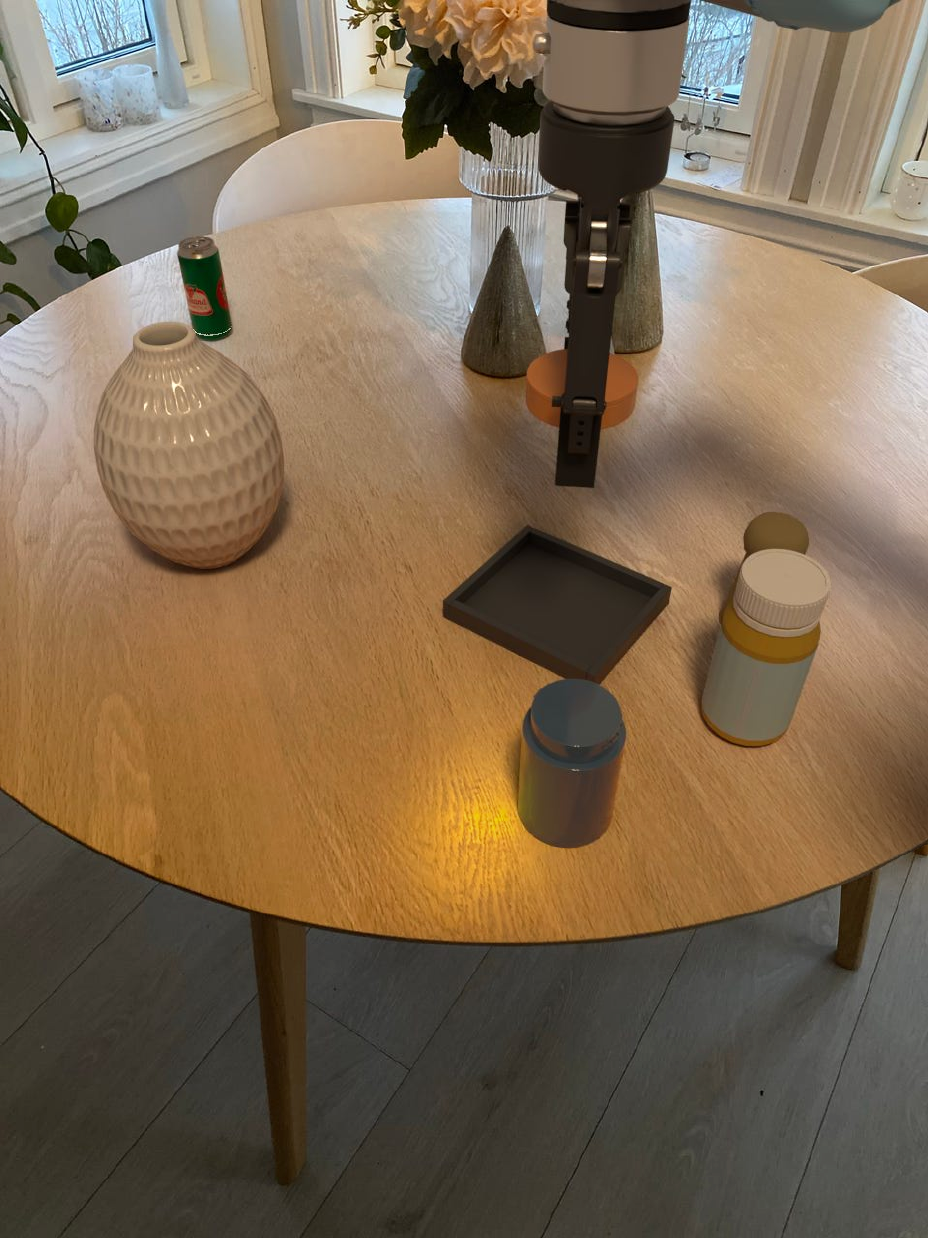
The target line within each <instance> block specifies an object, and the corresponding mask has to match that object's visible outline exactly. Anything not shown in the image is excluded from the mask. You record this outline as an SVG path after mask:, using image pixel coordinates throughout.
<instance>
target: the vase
mask: <svg viewBox="0 0 928 1238" xmlns="http://www.w3.org/2000/svg"><path fill="white" fill-rule="evenodd" d="M93 451H94V452H93V454H94V459H95V464H96V469H97V470H96V471H97V475H98V478H99V480H100V484H101V486H102V489H103V492H104V494H105V496H106V498H107V500H108V503H109V504H110V506H111V508H112V510H113V511H114V514H115V515H116V516H117V518H118V519H119V520H120V521H121V522H122V523H123V525H124V526H125V527H126V528H127V529H128V531H129V532H130V533H131V534H132V535H133V536H134V537H135V538H136V539H138V540H139V541H140V542H141V543H143V544H144V545H145V546H147V547H148V548H149V549H150V550H152V551H153V552H155V553H157V554H159V555H160V556H162V557H164V558H166V559H168V560H169V561H172V562H175V563H177V564H180V565H183V566H185V567H189V568H194V569H200V570H212V569H219V568H223V567H225V566H228V565H230V564H232V563H234V562H236V561H237V560H239V559H241V558H242V557H243V556H244V555H245V554H246V553H248V552H249V551H250V550H251V548H253V547H254V546H255V545H256V544H257V543H258V542H259V540H260V539H261V537H263V534H264V533H265V532H266V530H267V529H268V527H269V526H270V524H271V521H272V520H273V518H274V515H275V513H276V511H277V509H278V508H279V504H280V501H281V500H280V499H281V495H282V492H283V487H284V480H285V455H284V450H283V441H282V437H281V432H280V430H279V426H278V422H277V420H276V416H275V415H274V412H273V410H272V408H271V406H270V404H269V402H268V400H267V398H266V396H264V394H263V392H262V391H261V390H260V387H258V385H257V384H256V382H255V381H254V380H253V379H252V378H251V377H250V376H249V374H248V373H247V372H246V371H245V370H244V369H243V368H241V367H240V366H239V365H238V364H237V363H235V362H234V361H233V360H232V359H230V358H229V357H227V356H226V355H224V354H223V353H221V352H220V351H218V350H216V349H215V348H213V347H212V346H211V345H208V344H206V343H205V342H203V340H202V341H201V339H200V338H198V337H197V336H196V333H195V331H194V330H193V328H192V326H190V325H188V324H186V323H184V322H179V321H161V322H155V323H152V324H148V325H146V326H144V327H142V328H141V329H139V330H138V331H136V333H135V334H134V336H133V337H132V349H131V351H130V352H129V353H128V355H127V357H125V359H124V360H123V362H122V363H121V364H120V365H119V366H118V368H117V369H116V371H115V372H114V373H113V375H111V377H110V379H109V381H108V383H107V384H106V386H105V388H104V390H103V392H102V394H101V396H100V399H99V402H98V406H97V409H96V415H95V420H94V426H93Z"/></svg>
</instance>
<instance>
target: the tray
mask: <svg viewBox="0 0 928 1238" xmlns="http://www.w3.org/2000/svg"><path fill="white" fill-rule="evenodd" d="M672 589H673V587H672V586H670V585H668V584H666V583H664V582H661V581H659V580H658V579H654V578H652V577H650V576H648V575H645V574H643V573H641V572H638V571H636V570H634V569H632V568H629V567H627V566H625V565H622V564H620V563H618V562H615V561H613V560H611V559H609V558H606V557H604V556H601V555H599V554H597V553H594V552H592V551H589V550H587V549H585V548H582V547H581V546H578V545H575V544H574V543H571V542H569V541H567V540H565V539H561V538H559V537H557V536H555V535H553V534H550V533H548V532H546V531H543V530H541V529H538V528H536V527H533V526H531V525H529V524H526V525H525V526H524V527H523V528H522V529H520V531H518V532H517V533H516V534H515V535H514V536H513V537H511V539H510V540H508V541H507V542H506V543H505V544H504V545H503V546H502V547H500V548H499V549H498V550H497V551H496V552H495V553H494V554H492V556H490V557H489V558H488V559H487V560H486V561H485V562H484V563H483V564H482V565H481V566H480V567H478V568H477V569H476V570H475V571H474V572H473V573H472V574H470V576H468V577H467V578H466V579H465V580H464V581H463V582H461V583H460V585H458V586H457V587H456V588H455V589H453V590H452V592H451V593H449V594H448V595H447V596H446V597H445V598H444V599H443V600H442V617H443V618H445V619H446V620H449V621H451V622H452V623H454V624H456V625H458V626H460V627H462V628H464V629H466V630H468V631H470V632H472V633H474V634H475V635H476V634H477V636H480V637H482V638H484V639H487V640H488V641H490V642H491V643H494V644H496V645H498V646H500V647H502V648H504V649H506V650H508V651H510V652H512V653H514V654H516V655H518V656H520V657H522V658H523V659H526V660H528V661H530V662H532V663H534V664H536V665H538V666H540V667H541V668H544V669H546V670H547V671H550V672H552V673H553V674H555V675H558V676H560V677H561V678H563V679H582V680H587V681H591V682H594V683H596V684H598V685H600V684H601V683H602V682H603V681H604V680H605V679H606V678H607V677H608V676H609V674H610V673H611V672H612V671H613V669H614V668H615V667H616V666H617V665H618V664H619V663H620V661H621V660H622V659H623V658H624V657H625V655H626V654H627V653H628V652H629V651H630V650H631V649H632V648H633V646H634V645H636V643H637V642H638V640H639V639H640V638H641V637H642V636H643V634H645V632H646V631H647V630H648V629H649V627H650V626H651V625H652V624H653V623H654V621H655V620H656V619H658V617H659V615H661V614H662V612H663V611H664V610H665V609H666V607H668V605H669V604H670V599H671V595H672ZM600 686H601V685H600Z"/></svg>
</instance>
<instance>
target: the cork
mask: <svg viewBox="0 0 928 1238" xmlns="http://www.w3.org/2000/svg"><path fill="white" fill-rule="evenodd" d="M809 534H810V533H809V531H808V529H807V527H806V525H805V524H804V523H803V522H802V521H801V520H800V519H799V518H798V517H795V516H792V515H791V514H788V513H783V512H778V511H769V512H764V513H763V512H762V513H759V514H758V515H757V516H755V517H754V518H752V519H751V520H750V521H749V522H748V523H747V526H746V527H745V530H744V532H743V537H742V539H743V541H742V542H743V550H744V551H745V554H744V556H743V558H742V561H741V563H740V566H739V568H738V570H737V572H736V574H735V577H734V579H733V580H732V581H733V582H732V583H731V586H730V588H729V590H728V593H727V595H726V598H725V600H724V602H723V604H722V606H721V608H720V611H719V612H718V620H719V621H718V622H719V624H720V625H721V621H722V617H723V614H724V611H725V608H726V607H727V606H728V604H729V603H730V602H731V601H732V600H733V598H734V594H735V591H736V585H737V581H738V577H739V574H740V570H741V566H742V565H743V563H744V562H745V560H746V559H747V558H748V557H749V556H750V555H752V554H754V553H756V552H759V551H762V550H767V549H785V550H791V551H795V552H798V553H801V554H804V555H806V553H807V552H808V549H809V547H810V535H809Z"/></svg>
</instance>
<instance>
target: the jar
mask: <svg viewBox="0 0 928 1238" xmlns="http://www.w3.org/2000/svg"><path fill="white" fill-rule="evenodd" d="M521 725H522V726H521V727H522V728H521V743H520V759H519V776H518V777H519V778H518V790H517V791H518V793H517V812H518V813H517V814H518V816H519V819H520V821H521V823H522V825H523V826H524V828H525V829H526V831H527V832H528V833H529V834H530V835H531V836H533V837H534V838H535V839H537V840H538V841H540V842H542V843H543V844H545V845H548V846H550V847H551V846H552V847H556V848H561V849H574V848H575V849H577V848H581V847H585V846H588V845H590V844H592V843H594V842H596V841H597V840H599V839H600V838H601V837H602V836H603V835H604V834H605V833H606V832H607V831H608V829H609V827H610V825H611V823H612V819H613V814H614V808H615V803H616V798H617V791H618V786H619V781H620V774H621V770H622V769H621V768H622V764H623V758H624V752H625V746H626V740H627V728H626V724H625V722H624V719H623V713H622V708H621V706H620V703H619V702H618V700H617V698H616V697H615V695H614V694H612V693H611V692H610V691H609V690H608V689H607V688H606V687H604V686H602V685H598V684H596V683H594V682H591V681H587V680H582V679H566V678H563V679H559V680H555V681H553V682H549V683H547V684H545V685H544V686H542V687H541V688H539V689H538V690H537V692H535V694H534V695H533V700H532V703H531V705H530V707H528V710H527V711H526V713H525V714H524V717H523V720H522V724H521Z"/></svg>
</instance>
